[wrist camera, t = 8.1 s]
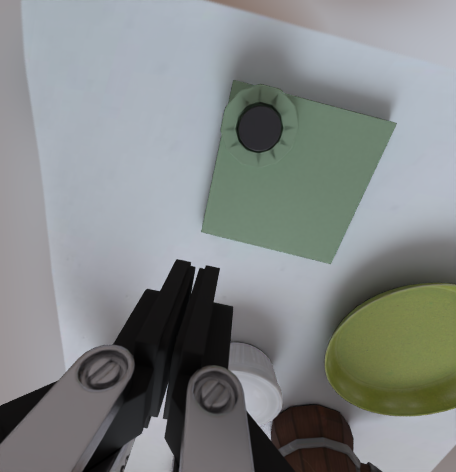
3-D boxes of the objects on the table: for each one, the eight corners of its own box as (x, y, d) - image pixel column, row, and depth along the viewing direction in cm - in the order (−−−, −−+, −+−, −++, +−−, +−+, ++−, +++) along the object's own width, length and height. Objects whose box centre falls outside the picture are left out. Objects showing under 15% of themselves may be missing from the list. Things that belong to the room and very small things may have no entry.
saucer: (315, 277, 30) (322, 294, 27) (520, 256, 27) (553, 273, 24) (321, 397, 38) (326, 420, 35) (479, 391, 35) (500, 416, 32)
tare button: (235, 143, 22) (234, 145, 21) (245, 102, 21) (244, 100, 19) (272, 152, 22) (273, 155, 21) (284, 112, 21) (287, 111, 19)
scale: (202, 227, 28) (197, 238, 26) (233, 80, 23) (231, 76, 20) (327, 257, 29) (335, 272, 26) (389, 122, 23) (408, 122, 20)
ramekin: (182, 364, 38) (172, 400, 33) (233, 320, 34) (230, 354, 29) (240, 402, 40) (239, 441, 35) (295, 365, 36) (302, 403, 31)
